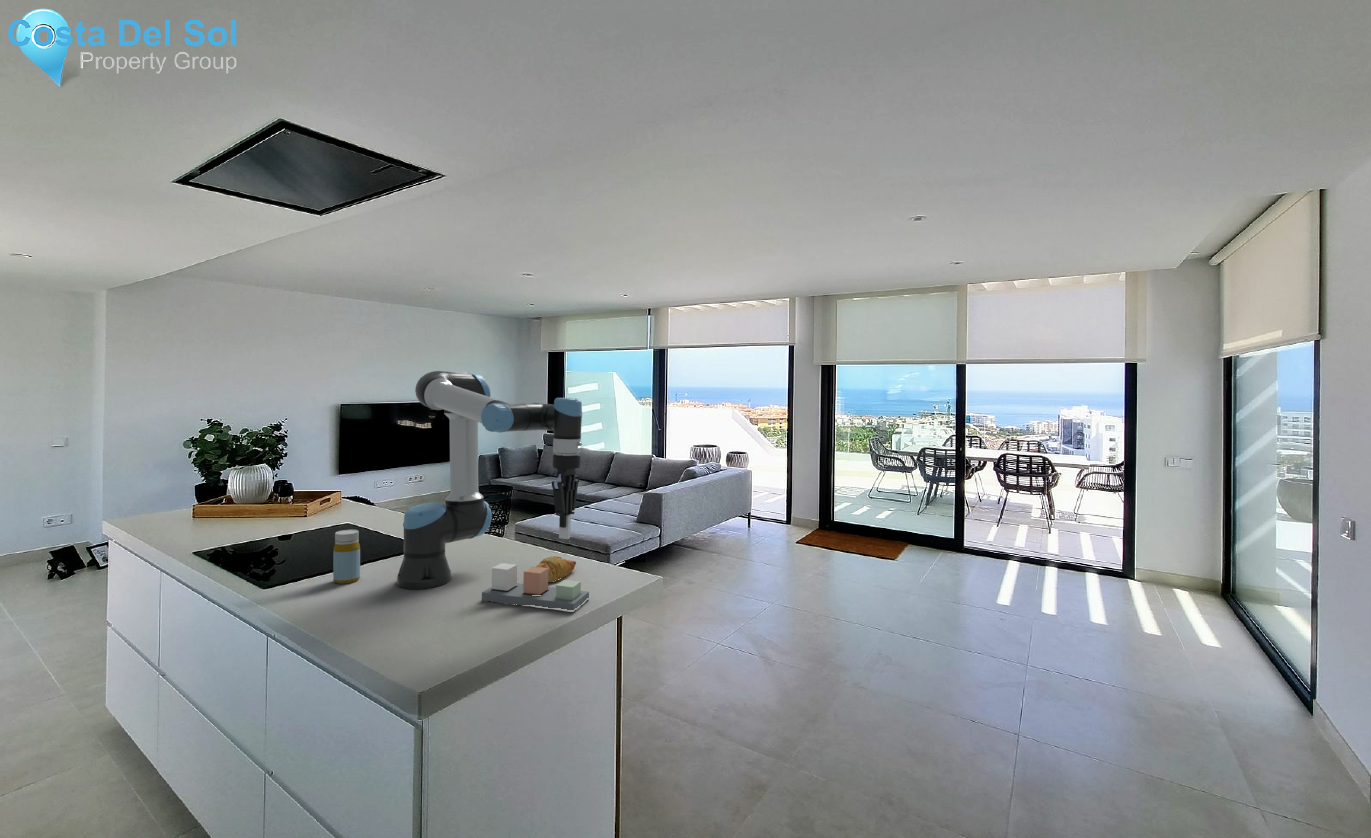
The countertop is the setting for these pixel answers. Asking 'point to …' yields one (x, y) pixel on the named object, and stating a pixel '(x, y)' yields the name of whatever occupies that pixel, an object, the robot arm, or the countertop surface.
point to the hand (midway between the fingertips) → (564, 537)
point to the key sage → (568, 590)
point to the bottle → (346, 557)
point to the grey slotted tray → (532, 598)
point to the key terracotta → (535, 580)
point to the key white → (504, 576)
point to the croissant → (557, 567)
